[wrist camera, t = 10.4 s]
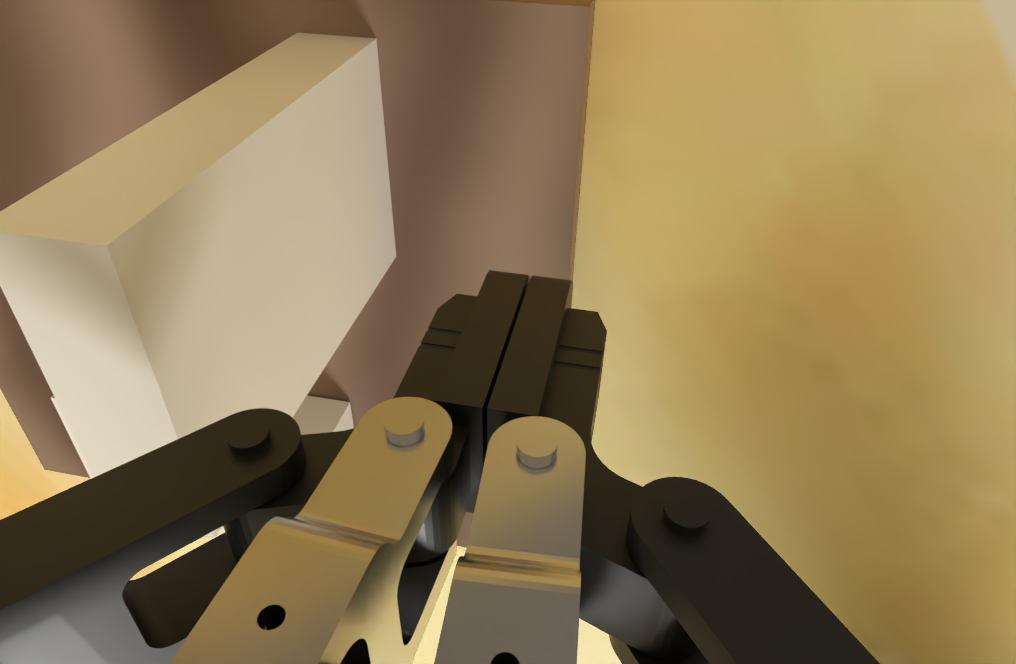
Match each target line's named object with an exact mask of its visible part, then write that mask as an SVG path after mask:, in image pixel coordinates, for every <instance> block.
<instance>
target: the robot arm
mask: <svg viewBox="0 0 1016 664" xmlns="http://www.w3.org/2000/svg"><path fill="white" fill-rule="evenodd" d="M572 290H573V281H572V280H566V279H558V278H550V277H542V276H534V275H532V276H531V279H530V275H525V274H517V273H509V272H501V271H493V270H489V271H488V273H487V275H486V277H485V279H484V282H483V284H482V286H481V289H480V291H479V293H478V296H471V295H464V294H456V295H455V296H453V297H452V298H451V299H449V300H448V301H447V302H445V303H444V304H443V305H441V306H440V307H439V308H438V309H437V311H436V313H435V315H434V317H433V319H432V321H431V323H430V325H429V327H428V331H426V333H425V335H424V337H423V339H422V341H421V346H419V347H418V349H417V351H416V353H415V355H414V357H413V359H412V361H411V363H410V365H409V367H408V369H407V371H406V373H405V375H404V377H403V379H402V382H401V384H400V386H399V388H398V390H397V392H396V394H395V396H394V398H393V399H390V400H387V401H384V402H382V403H379V404H377V405H376V406H374V407H373V408H371V409H370V410H369V411H367V412H366V413H365V414H364V416H363V417H362V418H361V419H360V421H359V423H358V424H357V426H356V427H355V428H353V429H349V430H345V431H338V432H327V433H316V434H305V435H301V432H300V428H299V425H298V424H297V422H296V421H295V420H294V419H293V418H292V417H291V416H290V415H288V414H286V413H285V412H282V411H279V410H275V409H268V408H256V409H249V410H244V411H241V412H237V413H235V414H232V415H230V416H228V417H225V418H223V419H221V420H219V421H217V422H214V423H212V424H210V425H208V426H206V427H203V428H201V429H199V430H197V431H195V432H193V433H190V434H188V435H186V436H184V437H182V438H179V439H177V440H175V441H173V442H171V443H168V444H166V445H164V446H162V447H160V448H157V449H155V450H153V451H151V452H149V453H146V454H144V455H142V456H140V457H138V458H136V459H133V460H131V461H129V462H127V463H125V464H122V465H120V466H118V467H116V468H114V469H111V470H109V471H107V472H105V473H103V474H100V475H98V476H96V477H94V478H92V479H89V480H87V481H85V482H83V483H81V484H79V485H76V486H74V487H72V488H70V489H68V490H65V491H63V492H61V493H59V494H57V495H54V496H52V497H50V498H48V499H46V500H43V501H41V502H39V503H37V504H35V505H32V506H30V507H28V508H26V509H24V510H22V511H19V512H17V513H15V514H13V515H11V516H8V517H6V518H4V519H2V520H0V664H412V663H413V660H414V657H415V654H416V651H417V649H418V647H419V644H420V642H421V639H422V637H423V634H424V632H425V629H426V627H427V624H428V622H429V619H430V617H431V614H432V612H433V610H434V607H435V605H436V602H437V600H438V597H439V595H440V592H441V590H442V587H443V585H444V582H445V580H446V577H447V575H448V573H449V570H450V568H451V565H452V563H453V560H454V558H455V555H456V551H457V537H458V534H459V532H460V528H461V525H462V522H463V519H464V516H465V513H466V512H469V513H474V515H473V520H472V525H471V530H470V534H469V539H468V544H467V549H466V553H465V556H464V557H462V556H461V557H459V559H458V561H457V564H456V567H455V571H454V575H453V579H452V584H451V589H450V593H449V598H448V603H447V607H446V612H445V616H444V621H443V626H442V630H441V635H440V639H439V644H438V649H437V653H436V658H435V662H434V664H577V646H578V628H579V618H580V619H582V620H584V621H586V622H588V623H589V624H591V625H593V626H595V627H597V628H598V629H600V630H602V631H604V632H606V633H608V634H609V637H610V641H611V644H612V647H613V649H614V651H615V653H616V655H617V656H618V658H619V659H620V661H621V663H622V664H879V662H878V661H877V660H876V659H875V658H874V657H873V656H872V655H871V654H870V653H869V652H868V651H867V650H866V648H865V647H864V646H863V645H862V644H861V643H860V642H859V641H858V640H857V639H856V638H855V637H854V636H853V634H852V633H851V632H850V631H849V630H848V629H847V628H846V627H845V626H844V625H843V624H842V623H841V622H840V620H839V619H838V618H837V617H836V616H835V615H834V614H833V613H832V612H831V611H830V610H829V609H828V608H827V606H826V605H825V604H824V603H823V602H822V601H821V600H820V599H819V598H818V597H817V596H816V595H815V594H814V592H813V591H812V590H811V589H810V588H809V587H808V586H807V585H806V584H805V583H804V582H803V581H802V580H801V578H800V577H799V576H798V575H797V574H796V573H795V572H794V571H793V570H792V569H791V568H790V567H789V566H788V564H787V563H786V562H785V561H784V560H783V559H782V558H781V557H780V556H779V555H778V554H777V553H776V552H775V551H774V549H773V548H772V547H771V546H770V545H769V544H768V543H767V542H766V541H765V540H764V539H763V538H762V537H761V535H760V534H759V533H758V532H757V531H756V530H755V529H754V528H753V527H752V526H751V525H750V524H749V523H748V521H747V520H746V519H745V518H744V517H743V516H742V515H741V514H740V513H739V512H738V511H737V510H736V509H735V507H734V506H733V505H732V504H731V503H730V502H729V501H728V500H727V499H726V498H725V497H724V496H723V495H722V494H721V493H719V492H718V491H716V490H715V489H714V488H712V487H710V486H708V485H706V484H704V483H702V482H699V481H696V480H692V479H689V478H682V477H667V478H661V479H657V480H654V481H652V482H650V483H648V484H646V485H645V486H644V487H642V486H639V485H637V484H635V483H633V482H631V481H628V480H626V479H624V478H622V477H620V476H618V475H617V474H615V473H614V472H612V471H611V470H609V469H608V468H607V467H606V466H605V465H604V464H603V463H602V462H601V461H600V459H599V458H598V457H597V455H596V453H595V452H594V449H593V447H592V444H591V442H592V435H593V429H594V423H595V416H596V410H597V403H598V397H599V389H600V381H601V373H602V365H603V358H604V350H605V342H606V334H607V330H606V328H605V326H604V324H603V322H602V320H601V318H600V316H599V314H598V312H594V311H586V310H579V309H571V302H572ZM222 526H223V527H224V530H225V533H223V534H221V535H220V536H218V537H216V538H214V539H212V540H210V541H209V542H207V543H205V544H203V545H201V546H199V547H197V548H196V549H194V550H192V551H190V552H188V553H186V554H185V555H183V556H181V557H179V558H177V559H175V560H173V561H172V562H170V563H168V564H166V565H164V566H162V567H161V568H159V569H157V570H155V571H153V572H151V573H150V574H148V575H146V576H144V577H142V578H139V579H135V580H130V579H131V578H132V577H133V576H134V575H135V574H136V573H138V572H139V571H140V570H142V569H144V568H145V567H147V566H149V565H151V564H153V563H155V562H156V561H158V560H160V559H162V558H164V557H166V556H168V555H169V554H171V553H173V552H175V551H177V550H179V549H181V548H183V547H184V546H186V545H188V544H190V543H192V542H194V541H196V540H197V539H199V538H201V537H203V536H205V535H207V534H209V533H210V532H212V531H214V530H216V529H218V528H220V527H222ZM129 580H130V581H129Z"/></svg>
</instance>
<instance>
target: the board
mask: <svg viewBox="0 0 1016 664" xmlns="http://www.w3.org/2000/svg"><path fill="white" fill-rule="evenodd" d="M594 8H595V0H0V211H2V210H4V209H5V208H7V207H9V206H10V205H12V204H14V203H15V202H17V201H19V200H20V199H22V198H24V197H25V196H27V195H29V194H30V193H32V192H34V191H35V190H37V189H39V188H40V187H42V186H44V185H45V184H47V183H49V182H50V181H52V180H54V179H55V178H57V177H58V176H60V175H62V174H63V173H65V172H67V171H68V170H70V169H72V168H73V167H75V166H77V165H78V164H80V163H82V162H83V161H85V160H87V159H88V158H90V157H92V156H93V155H95V154H97V153H98V152H100V151H102V150H103V149H105V148H107V147H108V146H110V145H112V144H113V143H115V142H117V141H118V140H120V139H122V138H123V137H125V136H127V135H128V134H130V133H132V132H133V131H135V130H137V129H138V128H140V127H142V126H143V125H145V124H147V123H148V122H150V121H152V120H153V119H155V118H157V117H158V116H160V115H162V114H163V113H165V112H167V111H168V110H170V109H172V108H173V107H175V106H177V105H178V104H180V103H182V102H183V101H185V100H187V99H188V98H190V97H192V96H193V95H195V94H197V93H198V92H200V91H202V90H203V89H205V88H206V87H208V86H210V85H211V84H213V83H215V82H216V81H218V80H220V79H221V78H223V77H225V76H226V75H228V74H230V73H231V72H233V71H235V70H236V69H238V68H240V67H241V66H243V65H245V64H246V63H248V62H250V61H251V60H253V59H255V58H256V57H258V56H260V55H261V54H263V53H265V52H266V51H268V50H270V49H271V48H273V47H275V46H276V45H278V44H280V43H281V42H283V41H285V40H286V39H288V38H290V37H291V36H293V35H295V34H296V33H309V34H323V35H336V36H350V37H363V38H376V39H377V50H378V61H379V72H380V83H381V94H382V105H383V116H384V127H385V138H386V149H387V160H388V170H389V181H390V192H391V203H392V214H393V225H394V236H395V247H396V258H395V259H394V261H393V262H392V264H391V265H390V267H389V269H388V270H387V272H386V273H385V275H384V276H383V278H382V279H381V281H380V283H379V284H378V286H377V287H376V289H375V290H374V292H373V293H372V295H371V297H370V298H369V300H368V301H367V303H366V304H365V306H364V307H363V309H362V311H361V312H360V314H359V315H358V317H357V318H356V320H355V321H354V323H353V324H352V326H351V328H350V329H349V331H348V332H347V334H346V335H345V337H344V338H343V340H342V342H341V343H340V345H339V346H338V348H337V349H336V351H335V352H334V354H333V356H332V357H331V359H330V360H329V362H328V363H327V365H326V366H325V368H324V370H323V371H322V373H321V374H320V376H319V377H318V379H317V380H316V382H315V384H314V385H313V387H312V388H311V390H310V391H309V393H308V394H307V396H314V397H320V398H327V399H333V400H339V401H346V402H350V406H351V412H352V418H353V425H354V428H355V427H356V426H357V424H358V423H359V421H360V419H361V418H362V417H363V416H364V414H365V413H366V412H367V411H369V410H370V409H371V408H373V407H374V406H376V405H377V404H379V403H382V402H384V401H387V400H390V399H393V398H394V396H395V394H396V392H397V390H398V388H399V386H400V384H401V382H402V379H403V377H404V375H405V373H406V371H407V369H408V367H409V365H410V363H411V361H412V359H413V357H414V355H415V353H416V351H417V349H418V347H419V346H421V341H422V339H423V337H424V335H425V333H426V331H428V327H429V325H430V323H431V321H432V319H433V317H434V315H435V313H436V311H437V309H438V308H439V307H440V306H441V305H443V304H444V303H445V302H447V301H448V300H449V299H451V298H452V297H453V296H455V295H456V294H464V295H471V296H478V293H479V291H480V289H481V286H482V284H483V282H484V279H485V277H486V275H487V273H488V271H489V270H493V271H501V272H509V273H517V274H525V275H530V279H531V276H532V275H534V276H542V277H550V278H558V279H566V280H573V267H574V255H575V243H576V230H577V218H578V206H579V193H580V181H581V169H582V156H583V144H584V132H585V119H586V107H587V95H588V82H589V70H590V58H591V45H592V33H593V21H594ZM0 389H1V390H2V392H3V394H4V396H5V398H6V400H7V401H8V403H9V405H10V407H11V409H12V411H13V412H14V414H15V416H16V418H17V420H18V422H19V423H20V425H21V427H22V429H23V431H24V433H25V434H26V436H27V438H28V440H29V442H30V444H31V445H32V447H33V449H34V451H35V453H36V455H37V456H38V458H39V460H40V462H41V464H42V466H43V467H44V469H45V470H50V471H55V472H61V473H66V474H72V475H77V476H82V477H88V478H90V477H89V474H88V472H87V470H86V468H85V466H84V464H83V462H82V460H81V458H80V456H79V454H78V452H77V450H76V448H75V446H74V444H73V442H72V440H71V438H70V436H69V434H68V432H67V430H66V428H65V426H64V424H63V422H62V420H61V418H60V416H59V414H58V412H57V410H56V408H55V406H54V404H53V402H52V400H51V397H52V396H53V393H52V391H51V389H50V387H49V385H48V383H47V381H46V378H45V376H44V374H43V372H42V370H41V368H40V366H39V364H38V362H37V360H36V358H35V356H34V354H33V352H32V350H31V348H30V346H29V344H28V342H27V340H26V338H25V336H24V334H23V332H22V329H21V327H20V325H19V323H18V321H17V319H16V317H15V315H14V313H13V311H12V309H11V307H10V305H9V303H8V301H7V299H6V297H5V295H4V293H3V291H2V289H1V287H0ZM473 515H474V513H469V512H466V513H465V516H464V519H463V522H462V525H461V528H460V532H459V534H458V537H457V546H462V547H467V544H468V539H469V534H470V530H471V525H472V520H473Z"/></svg>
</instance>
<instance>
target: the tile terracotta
mask: <svg viewBox="0 0 1016 664" xmlns="http://www.w3.org/2000/svg"><path fill="white" fill-rule="evenodd" d="M395 258H396V247H395V236H394V225H393V214H392V203H391V192H390V181H389V170H388V160H387V149H386V138H385V127H384V116H383V105H382V94H381V83H380V72H379V61H378V50H377V39H376V38H363V37H350V36H336V35H323V34H309V33H296V34H295V35H293V36H291V37H290V38H288V39H286V40H285V41H283V42H281V43H280V44H278V45H276V46H275V47H273V48H271V49H270V50H268V51H266V52H265V53H263V54H261V55H260V56H258V57H256V58H255V59H253V60H251V61H250V62H248V63H246V64H245V65H243V66H241V67H240V68H238V69H236V70H235V71H233V72H231V73H230V74H228V75H226V76H225V77H223V78H221V79H220V80H218V81H216V82H215V83H213V84H211V85H210V86H208V87H206V88H205V89H203V90H202V91H200V92H198V93H197V94H195V95H193V96H192V97H190V98H188V99H187V100H185V101H183V102H182V103H180V104H178V105H177V106H175V107H173V108H172V109H170V110H168V111H167V112H165V113H163V114H162V115H160V116H158V117H157V118H155V119H153V120H152V121H150V122H148V123H147V124H145V125H143V126H142V127H140V128H138V129H137V130H135V131H133V132H132V133H130V134H128V135H127V136H125V137H123V138H122V139H120V140H118V141H117V142H115V143H113V144H112V145H110V146H108V147H107V148H105V149H103V150H102V151H100V152H98V153H97V154H95V155H93V156H92V157H90V158H88V159H87V160H85V161H83V162H82V163H80V164H78V165H77V166H75V167H73V168H72V169H70V170H68V171H67V172H65V173H63V174H62V175H60V176H58V177H57V178H55V179H54V180H52V181H50V182H49V183H47V184H45V185H44V186H42V187H40V188H39V189H37V190H35V191H34V192H32V193H30V194H29V195H27V196H25V197H24V198H22V199H20V200H19V201H17V202H15V203H14V204H12V205H10V206H9V207H7V208H5V209H4V210H2V211H0V287H1V289H2V291H3V293H4V295H5V297H6V299H7V301H8V303H9V305H10V307H11V309H12V311H13V313H14V315H15V317H16V319H17V321H18V323H19V325H20V327H21V329H22V332H23V334H24V336H25V338H26V340H27V342H28V344H29V346H30V348H31V350H32V352H33V354H34V356H35V358H36V360H37V362H38V364H39V366H40V368H41V370H42V372H43V374H44V376H45V378H46V381H47V383H48V385H49V387H50V389H51V391H52V393H53V395H54V397H55V399H56V401H57V403H58V405H59V407H60V409H61V411H62V413H63V415H64V417H65V419H66V421H67V423H68V425H69V427H70V430H71V432H72V434H73V436H74V438H75V440H76V442H77V444H78V446H79V448H80V450H81V452H82V454H83V456H84V458H85V460H86V462H87V464H88V466H89V468H90V470H91V472H92V474H93V476H94V477H96V476H98V475H100V474H103V473H105V472H107V471H109V470H111V469H114V468H116V467H118V466H120V465H122V464H125V463H127V462H129V461H131V460H133V459H136V458H138V457H140V456H142V455H144V454H146V453H149V452H151V451H153V450H155V449H157V448H160V447H162V446H164V445H166V444H168V443H171V442H173V441H175V440H177V439H179V438H182V437H184V436H186V435H188V434H190V433H193V432H195V431H197V430H199V429H201V428H203V427H206V426H208V425H210V424H212V423H214V422H217V421H219V420H221V419H223V418H225V417H228V416H230V415H232V414H235V413H237V412H241V411H244V410H249V409H256V408H268V409H275V410H279V411H282V412H285V413H286V414H288V415H290V416H291V417H292V418H293V416H294V415H295V413H296V411H297V410H298V408H299V407H300V405H301V404H302V402H303V401H304V399H305V398H306V396H307V394H308V393H309V391H310V390H311V388H312V387H313V385H314V384H315V382H316V380H317V379H318V377H319V376H320V374H321V373H322V371H323V370H324V368H325V366H326V365H327V363H328V362H329V360H330V359H331V357H332V356H333V354H334V352H335V351H336V349H337V348H338V346H339V345H340V343H341V342H342V340H343V338H344V337H345V335H346V334H347V332H348V331H349V329H350V328H351V326H352V324H353V323H354V321H355V320H356V318H357V317H358V315H359V314H360V312H361V311H362V309H363V307H364V306H365V304H366V303H367V301H368V300H369V298H370V297H371V295H372V293H373V292H374V290H375V289H376V287H377V286H378V284H379V283H380V281H381V279H382V278H383V276H384V275H385V273H386V272H387V270H388V269H389V267H390V265H391V264H392V262H393V261H394V259H395ZM221 528H222V527H220V528H218V529H216V530H214V531H212V532H210V533H209V534H207V535H205V536H204V537H209V538H215V537H216V536H217V534H218V533H219V531H220V530H221Z"/></svg>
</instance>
